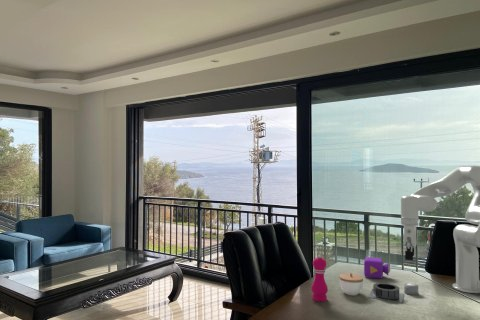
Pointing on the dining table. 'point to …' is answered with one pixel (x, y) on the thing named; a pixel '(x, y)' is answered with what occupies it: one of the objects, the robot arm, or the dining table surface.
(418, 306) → the dining table surface
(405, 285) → the grey rounded dome
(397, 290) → the lens barrel
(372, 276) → the toy camera
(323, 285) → the pepper mill
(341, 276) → the lidded jar
